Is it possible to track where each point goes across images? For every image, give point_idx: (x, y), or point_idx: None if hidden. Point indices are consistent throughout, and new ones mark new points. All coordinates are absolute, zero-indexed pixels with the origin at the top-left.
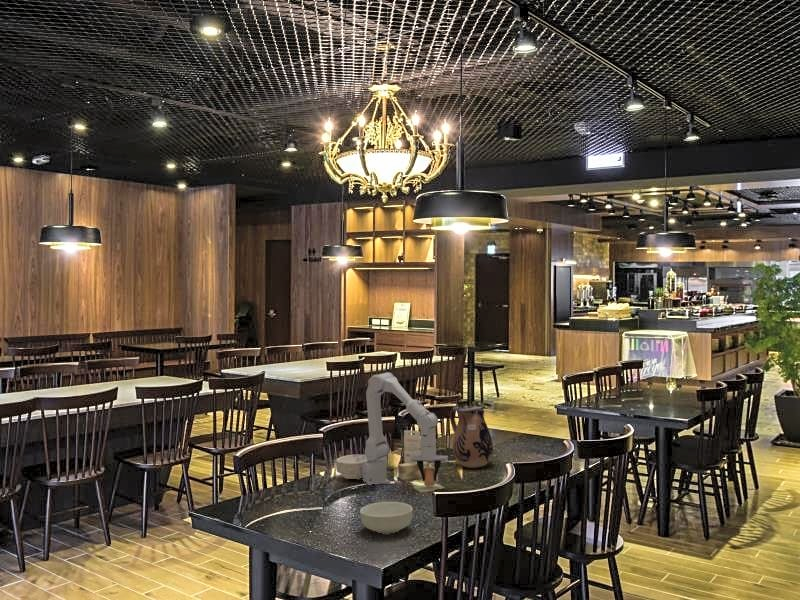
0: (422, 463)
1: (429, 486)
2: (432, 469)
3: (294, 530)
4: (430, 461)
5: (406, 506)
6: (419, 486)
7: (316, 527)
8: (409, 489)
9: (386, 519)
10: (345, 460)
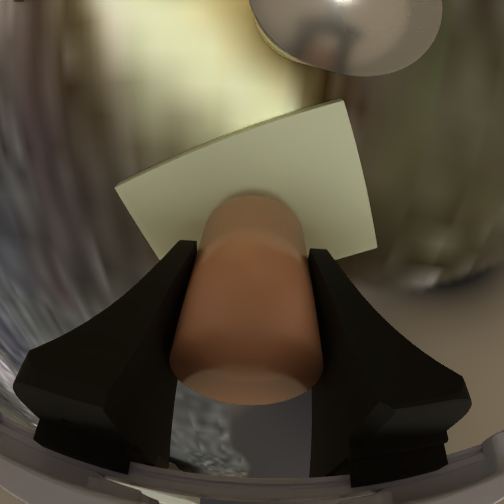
0: (144, 459)
1: (255, 194)
2: (291, 388)
3: (14, 415)
4: (266, 485)
5: (182, 496)
6: (162, 184)
7: (32, 419)
8: (95, 208)
9: (160, 499)
10: None
